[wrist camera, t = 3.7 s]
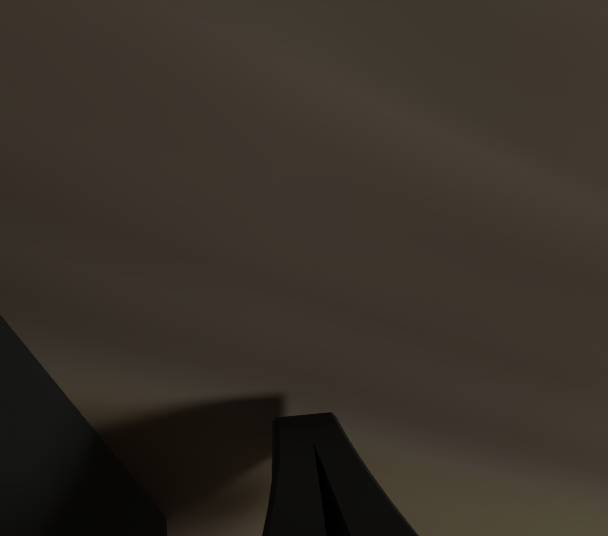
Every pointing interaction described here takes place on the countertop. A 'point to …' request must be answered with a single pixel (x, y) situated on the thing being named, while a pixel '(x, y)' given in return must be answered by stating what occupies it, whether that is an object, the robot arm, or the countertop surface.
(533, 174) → the countertop surface
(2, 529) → the battery charger
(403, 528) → the robot arm
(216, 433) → the countertop surface
